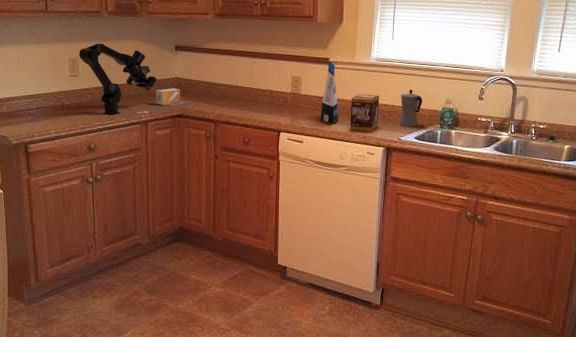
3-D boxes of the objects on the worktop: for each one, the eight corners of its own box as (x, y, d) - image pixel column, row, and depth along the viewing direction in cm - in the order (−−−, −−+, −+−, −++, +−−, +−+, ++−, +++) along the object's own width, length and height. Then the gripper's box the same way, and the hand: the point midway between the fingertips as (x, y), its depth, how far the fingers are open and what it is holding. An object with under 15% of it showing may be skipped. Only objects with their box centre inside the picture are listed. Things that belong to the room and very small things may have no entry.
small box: (162, 91, 347) (180, 89, 356) (155, 90, 351) (173, 88, 361) (162, 105, 349) (180, 102, 359) (156, 103, 354) (174, 101, 363)
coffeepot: (393, 123, 311) (395, 88, 306) (407, 121, 315) (409, 87, 310) (412, 128, 298) (415, 92, 293) (426, 127, 302) (429, 91, 297)
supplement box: (349, 129, 293) (351, 97, 289) (357, 124, 307) (359, 93, 303) (370, 131, 289) (372, 99, 285) (377, 125, 303) (379, 95, 299)
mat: (171, 106, 349) (171, 105, 349) (148, 103, 358) (148, 102, 357) (189, 102, 362) (189, 102, 362) (166, 99, 371) (166, 99, 371)
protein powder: (323, 124, 303) (325, 64, 295) (317, 116, 327) (319, 60, 319) (341, 124, 304) (344, 65, 296) (335, 116, 327) (337, 60, 319)
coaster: (141, 114, 321) (141, 113, 321) (131, 113, 325) (131, 112, 324) (150, 112, 327) (150, 111, 327) (141, 111, 330) (141, 110, 330)
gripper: (153, 62, 331) (168, 80, 342) (129, 60, 340) (144, 78, 352) (144, 77, 326) (158, 95, 338) (119, 75, 335) (134, 93, 347)
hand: (149, 90), depth 344 cm, fingers closed
